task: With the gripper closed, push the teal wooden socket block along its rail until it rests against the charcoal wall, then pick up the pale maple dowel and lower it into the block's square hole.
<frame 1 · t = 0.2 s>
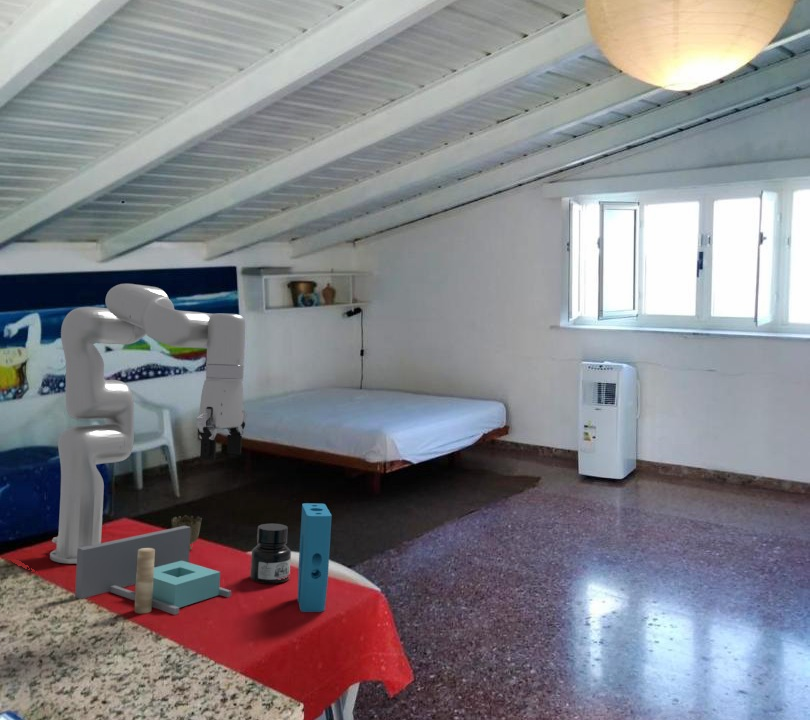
hand: (221, 456, 157), 30 cm above the table, tool pointing down, fingers open, 9 cm apart
ink bottle: (269, 579, 175), on the table
socket block: (178, 583, 159), point 3 cm above the table, slide at 6.0 cm
block: (310, 605, 159), on the table
backstop wall: (135, 582, 166), on the table
cup: (184, 550, 194), on the table
dowel: (143, 610, 150), on the table
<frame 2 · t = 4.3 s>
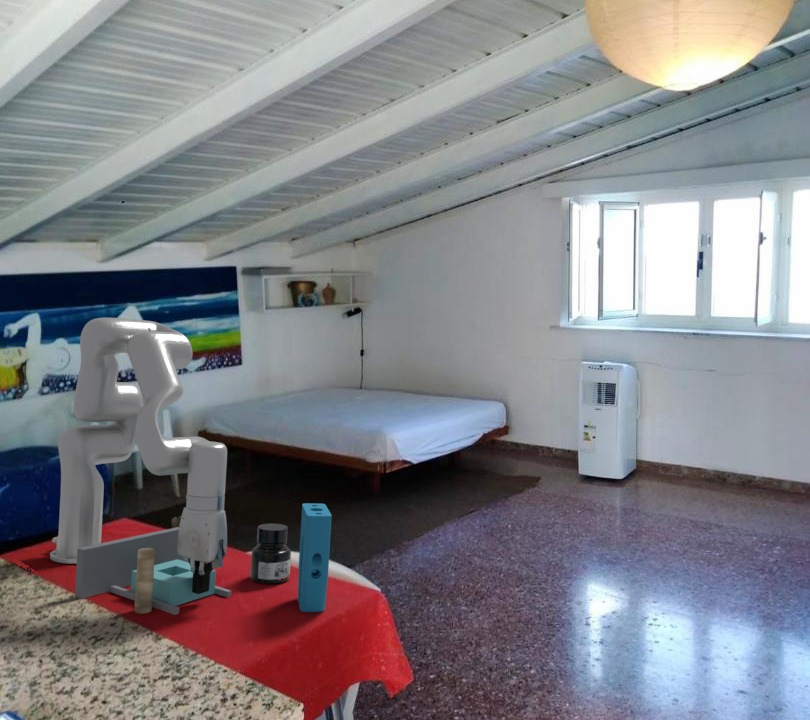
hand: (200, 591, 155), 2 cm above the table, tool pointing down, fingers closed
socket block: (173, 582, 160), point 3 cm above the table, slide at 4.6 cm, touching gripper
everything else where it was.
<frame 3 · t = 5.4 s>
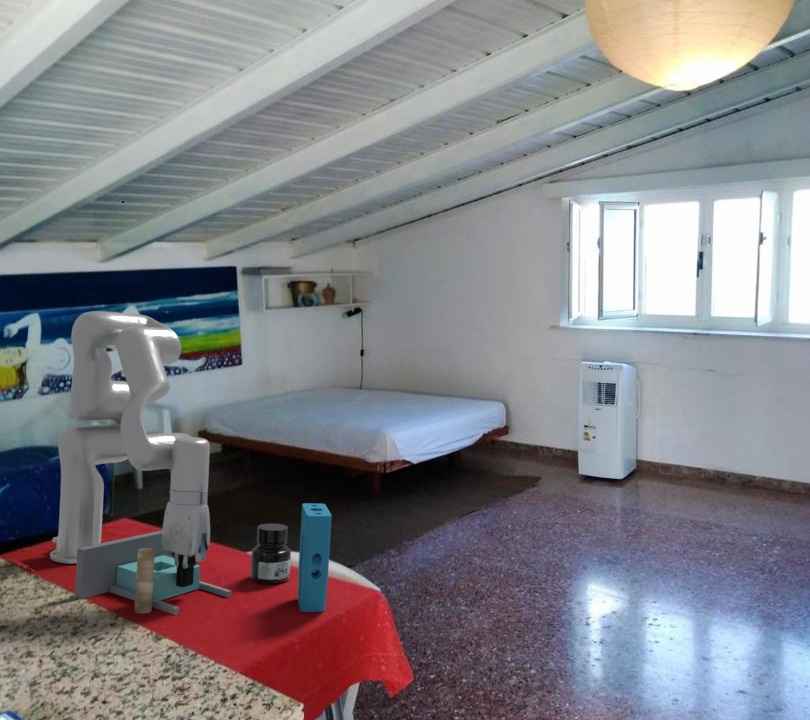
hand: (184, 585, 158), 3 cm above the table, tool pointing down, fingers closed
socket block: (158, 577, 162), point 3 cm above the table, slide at -0.1 cm, touching gripper
everything else where it was.
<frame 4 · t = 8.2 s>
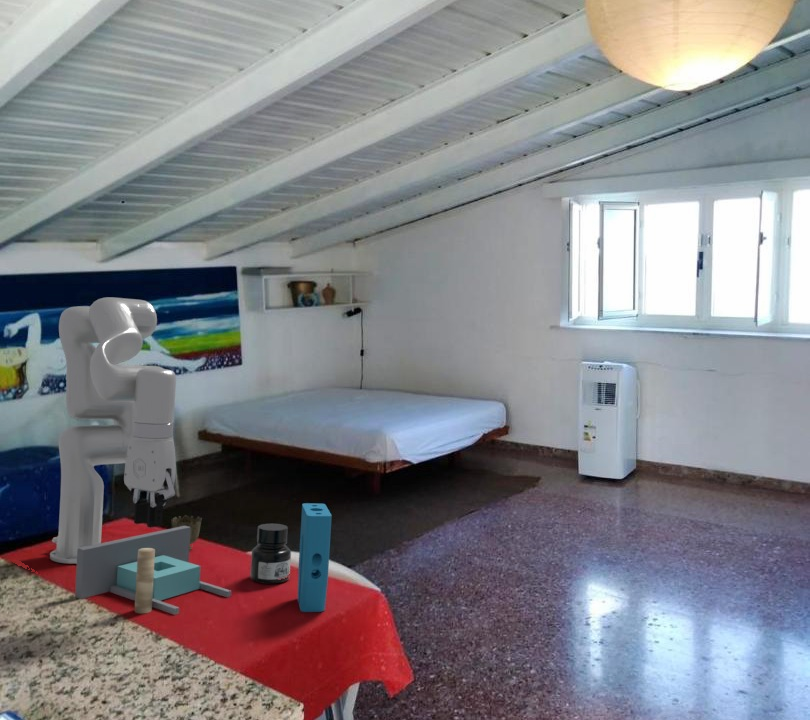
hand: (148, 523, 150), 17 cm above the table, tool pointing down, fingers open, 3 cm apart
socket block: (158, 577, 162), point 3 cm above the table, slide at 0.0 cm
everything else where it was.
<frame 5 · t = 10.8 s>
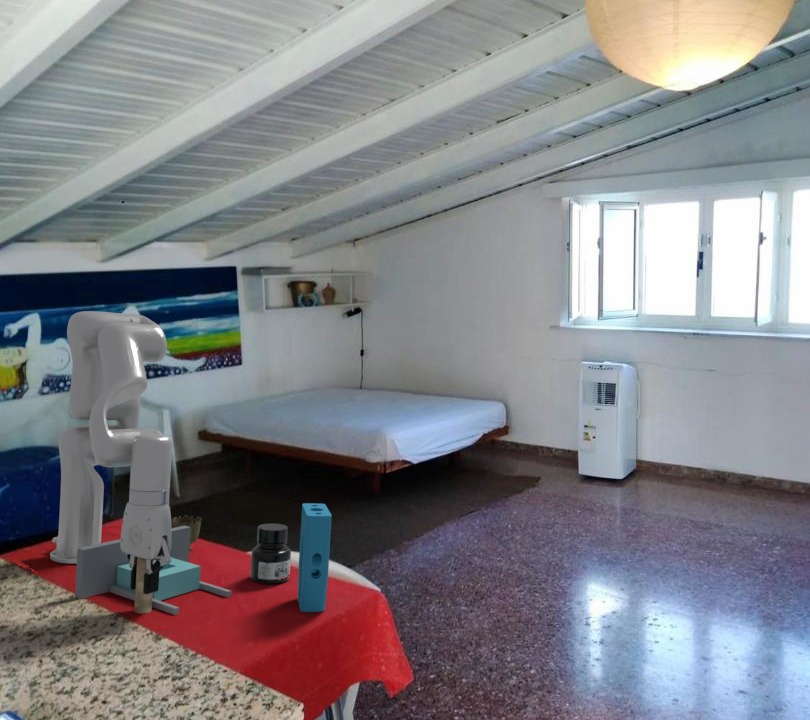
hand: (144, 589, 150), 4 cm above the table, tool pointing down, fingers closed on dowel, 3 cm apart
dowel: (143, 610, 150), on the table, touching gripper
everything else where it was.
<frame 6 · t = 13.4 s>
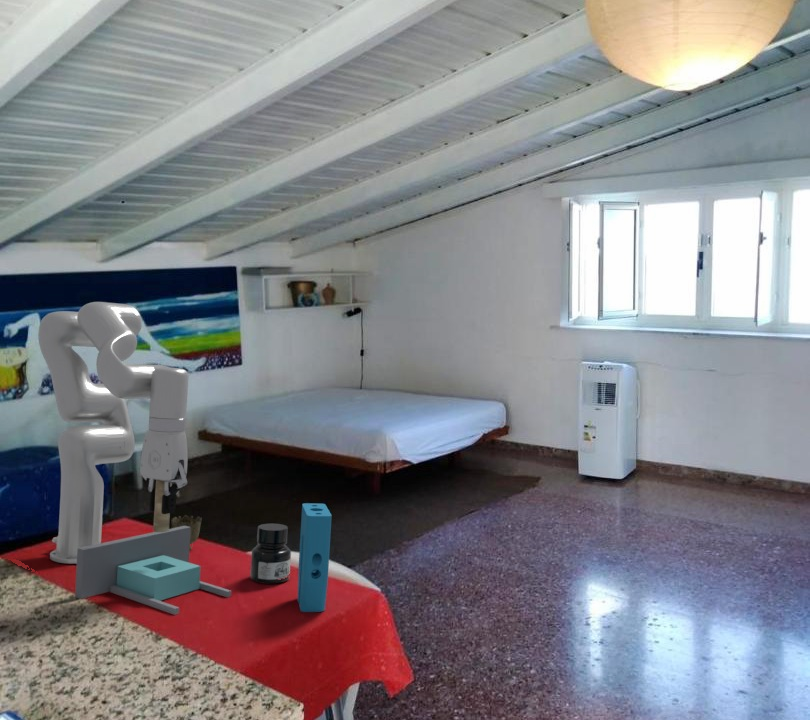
hand: (162, 510, 162), 17 cm above the table, tool pointing down, fingers closed on dowel, 3 cm apart
dowel: (161, 530, 162), point 13 cm above the table, touching gripper
everything else where it was.
when the fingers open (6 cm above the table, at t = 16.3 s): dowel drops 2 cm, resting in socket block.
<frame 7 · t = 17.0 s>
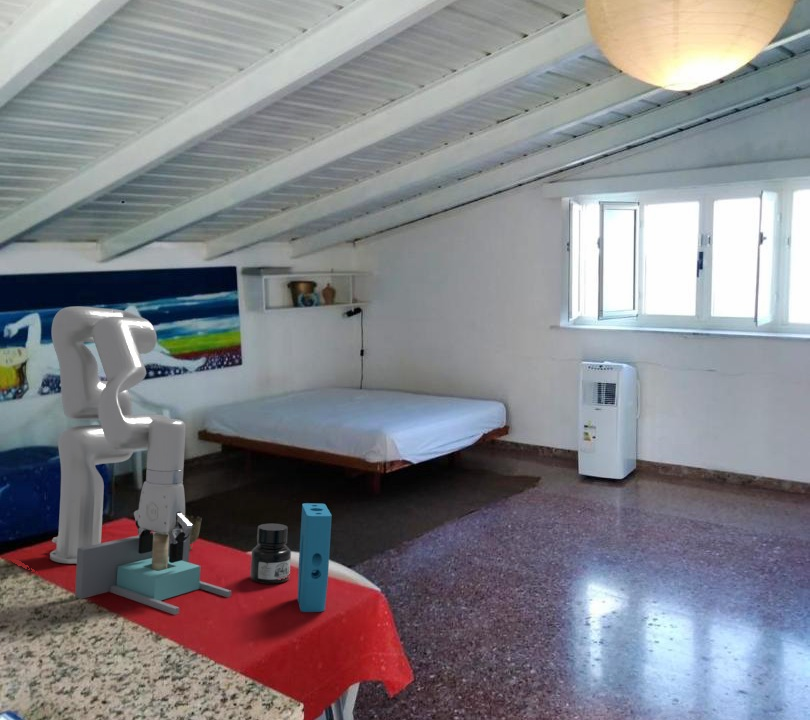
hand: (160, 556, 162), 7 cm above the table, tool pointing down, fingers open, 9 cm apart
dowel: (158, 589, 162), resting in socket block
everything else where it was.
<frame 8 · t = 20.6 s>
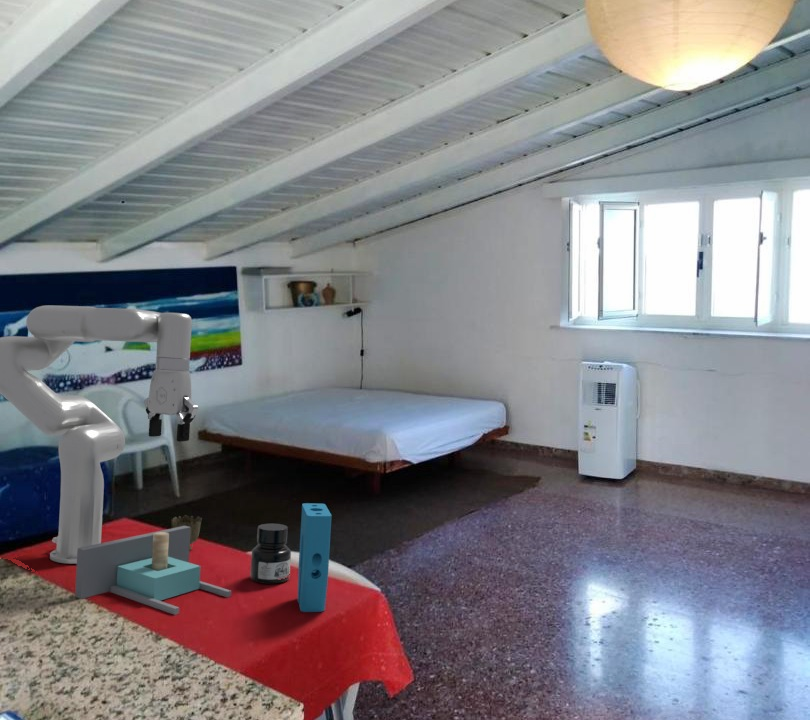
hand: (168, 438, 178), 30 cm above the table, tool pointing down, fingers open, 9 cm apart
nothing on the table moved.
at the end: socket block slide at 0.0 cm; dowel 0.0 cm off-centre on the socket block, point 0.0 cm above the socket block's base; dowel tilted 0° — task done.
